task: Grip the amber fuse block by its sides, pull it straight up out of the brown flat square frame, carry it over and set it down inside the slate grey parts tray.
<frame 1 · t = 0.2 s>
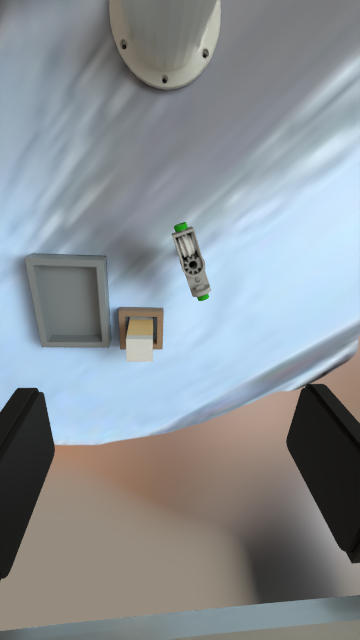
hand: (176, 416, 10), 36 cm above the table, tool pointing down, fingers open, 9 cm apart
mechanical component: (185, 249, 43), on the table
parts tray: (75, 299, 45), on the table
amber fuse: (140, 337, 45), in the brown flat square frame
brown flat square frame: (141, 326, 49), on the table
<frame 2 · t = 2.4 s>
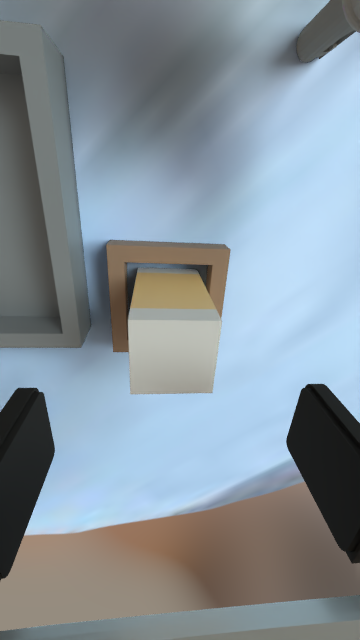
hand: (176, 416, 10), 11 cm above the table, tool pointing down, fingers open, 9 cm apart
mechanical component: (309, 45, 14), on the table
amber fuse: (169, 320, 16), in the brown flat square frame
brown flat square frame: (166, 295, 19), on the table
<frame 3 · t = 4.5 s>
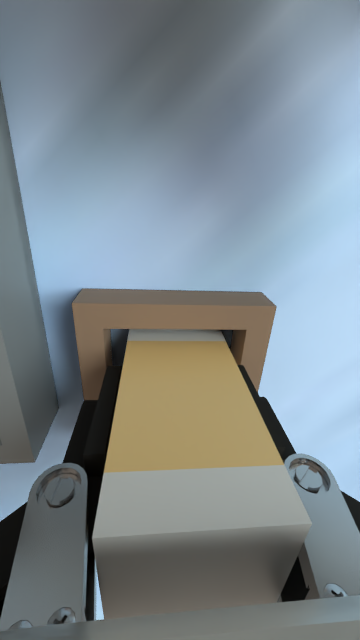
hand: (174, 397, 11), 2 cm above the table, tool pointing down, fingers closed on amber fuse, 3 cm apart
amber fuse: (180, 432, 9), in the brown flat square frame, touching gripper
brown flat square frame: (171, 365, 13), on the table
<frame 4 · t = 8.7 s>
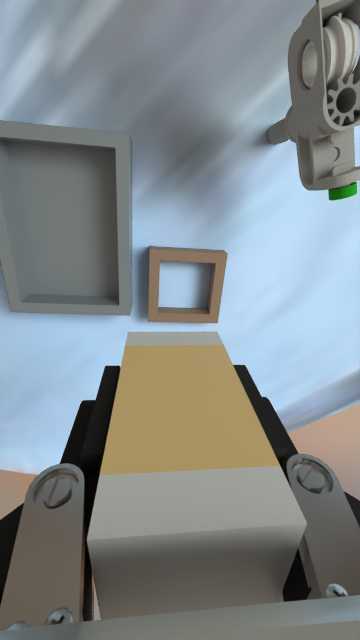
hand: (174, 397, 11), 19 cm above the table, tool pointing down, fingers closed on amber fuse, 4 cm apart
mechanical component: (274, 134, 24), on the table
parts tray: (73, 228, 26), on the table
amber fuse: (179, 436, 9), point 21 cm above the table, touching gripper
brown flat square frame: (184, 284, 29), on the table
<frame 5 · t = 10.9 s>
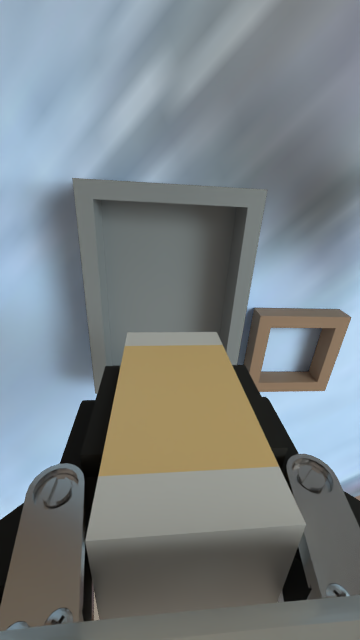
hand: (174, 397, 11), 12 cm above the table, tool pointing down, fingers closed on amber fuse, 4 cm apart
parts tray: (167, 291, 21), on the table
amber fuse: (178, 436, 9), point 14 cm above the table, touching gripper
brown flat square frame: (287, 346, 24), on the table
when the fingers open (5 cm above the table, at t = 12.8 s): amber fuse drops 2 cm, resting on parts tray.
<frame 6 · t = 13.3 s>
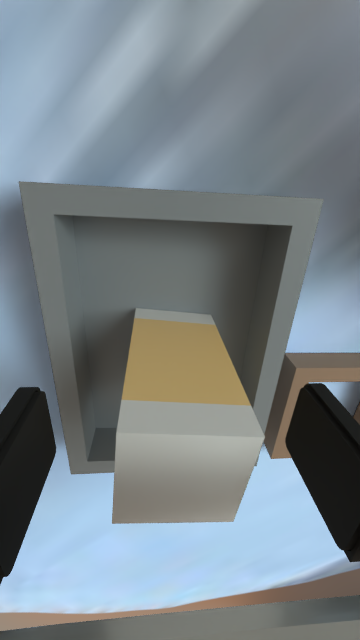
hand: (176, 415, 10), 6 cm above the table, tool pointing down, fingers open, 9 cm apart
parts tray: (168, 334, 16), on the table
amber fuse: (174, 392, 12), in the parts tray, point 5 cm above the table
brown flat square frame: (324, 399, 19), on the table
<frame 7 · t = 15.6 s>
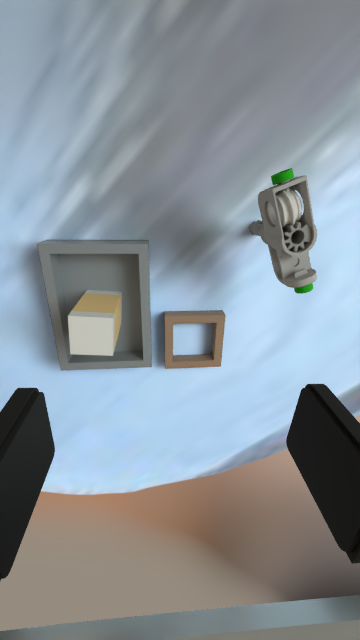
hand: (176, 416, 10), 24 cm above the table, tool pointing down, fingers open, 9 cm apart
mechanical component: (256, 227, 32), on the table
parts tray: (105, 303, 33), on the table
amber fuse: (98, 319, 29), in the parts tray, point 5 cm above the table
brown flat square frame: (192, 337, 36), on the table
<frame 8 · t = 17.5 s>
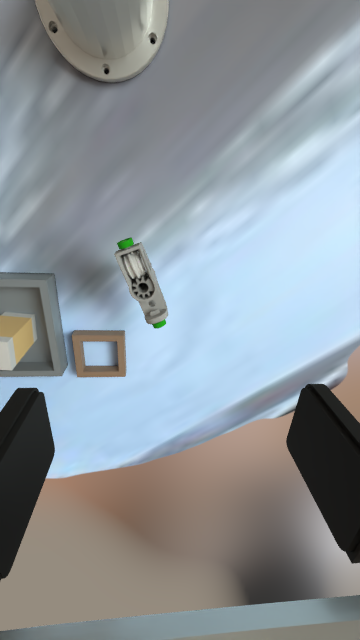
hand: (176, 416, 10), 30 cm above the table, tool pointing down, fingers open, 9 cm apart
mechanical component: (145, 265, 38), on the table
parts tray: (22, 322, 40), on the table
amber fuse: (8, 339, 36), in the parts tray, point 5 cm above the table
brown flat square frame: (101, 351, 43), on the table
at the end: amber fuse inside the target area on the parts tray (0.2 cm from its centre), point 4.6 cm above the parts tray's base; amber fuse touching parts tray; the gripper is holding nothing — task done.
